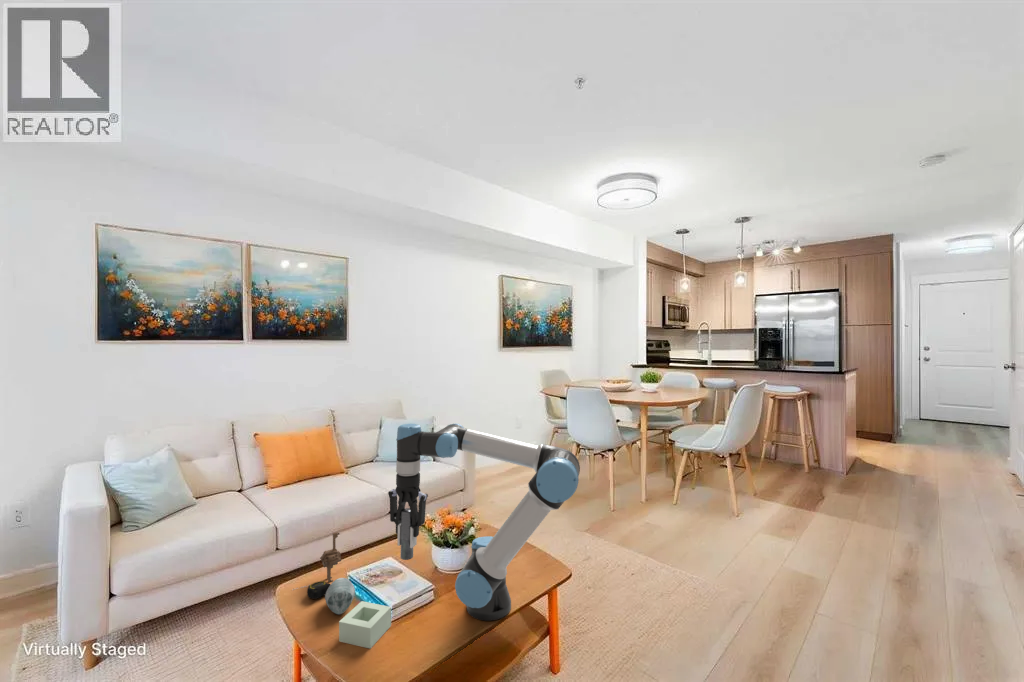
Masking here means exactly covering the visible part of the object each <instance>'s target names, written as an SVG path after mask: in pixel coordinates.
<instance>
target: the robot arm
mask: <svg viewBox="0 0 1024 682" xmlns="http://www.w3.org/2000/svg"><path fill="white" fill-rule="evenodd" d="M395 441H396V467H395V468H396V469H395V472H396V475H395V485H396V487H395V488H392V489H391V490H389V491H388V492H387V494H388V498H389V518H390V519H389V520H390V522H392V523H394V524H395V534H396V535H397V546H400V547H401V511H402V510H403V509H406V503H407V504H408V507H409V508H410V512H411V518H412V525H413V526H412V527H410V548H413V549H414V547H416V546H417V544H418V543H417V542H418V541H417V538H418V536H419V535H420V527H421V526H423V525H424V524H425V522H426V509H427V508H426V507H427V506H426V505H427V500H428V497H429V494H428V493H424V492H422V491H421V489H420V486H421V485H420V484H421V473H420V471H421V456H423V457H433V458H435V457H436V458H442V459H444V458H446V459H447V458H454V457H455V456H456V454H457V452H458V451H462V452H467V453H470V454H474V455H478V456H483V457H486V458H490V459H494V460H498V461H501V462H505V463H510V464H514V465H518V466H521V467H525V468H529V469H533V471H534V472H535V473H534V475H533V477H532V478H531V479H530V480H529V482H528V484H527V486H528V491H527V492H526V494H525V495H524V496H523V498H521V500H520V502H519V503H518V504H517V506H516V507H515V508H514V510H513V511H512V512H511V513H510V515H509V516H508V517H507V519H506V520H505V521H504V523H503V524H502V525H501V526H500V527H499V529H498V530H497V531H496V533H495V534H494V536H491V535H490V536H488V535H487V536H485V535H484V536H479V537H476V538H474V539H473V540H472V542H471V546H470V549H471V555H470V556H469V558H468V560H467V561H466V562H465V564H464V566H463V568H462V569H461V570H460V572H459V573H458V574H457V575H456V580H455V583H454V589H455V593H456V596H457V598H458V599H459V600H460V602H462V604H464V606H466V611H467V613H468V614H469V615H470V616H471V617H472V618H473V619H477V620H480V621H486V622H491V621H496V620H500V619H502V618H504V617H505V616H507V615H508V614H509V613H510V611H511V609H512V598H511V595H510V592H509V589H508V586H507V575H508V571H507V570H508V569H507V567H508V566H509V564H511V562H512V561H513V559H514V558H515V557H516V556H517V554H518V553H519V552H520V550H521V549H522V547H523V546H524V545H526V543H527V541H528V540H529V539H530V537H532V535H533V533H535V531H536V530H537V529H538V528H539V526H540V525H541V524H542V522H543V521H544V520H545V519H546V517H547V516H548V515H549V513H550V512H551V511H556V510H559V509H560V508H561V506H562V505H563V504H564V503H565V501H566V502H567V501H568V500H569V499H571V498H572V496H573V495H574V494H575V492H576V491H577V489H578V485H579V476H580V472H581V471H580V470H581V467H580V466H581V465H580V462H579V459H578V457H577V456H576V454H574V453H573V452H572V451H570V450H568V449H566V448H563V447H558V446H556V445H555V446H554V445H550V444H545V443H541V444H540V445H537V444H536V445H535V444H532V443H527V442H524V441H519V440H516V439H515V440H514V439H511V438H506V437H503V436H499V435H495V434H494V435H493V434H489V433H486V432H482V431H481V432H480V431H478V430H472V429H468V428H465V427H464V426H463V425H462V424H460V423H452V424H447V426H445V427H443V428H442V429H439V430H438V431H436V432H435V431H434V432H433V431H422V426H421V425H420V424H417V423H403V424H401V425H399V426H398V427H397V433H396V440H395ZM418 501H419V502H418Z"/></svg>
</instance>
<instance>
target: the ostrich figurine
mask: <svg viewBox="0 0 1024 682" xmlns="http://www.w3.org/2000/svg"><path fill="white" fill-rule="evenodd" d="M339 535H340V532H339V531H337V532H336V531H335V532H333V533H332V549H327V550H325V551H323V553H322V555H321V557H319V559H320V561H321V563H322V565H323V568H326V578H327V579H326V580H327V584H328V583H329V584H330V583H332V582H334V580H333V579H332V578H333V577H332V575H331V573H332V571H331V570H332V569H333V568H334V566H336V565H339V563H340V562H341V561H342V558H341V551H339V550H338V549H337V547H336V546H337V545H336V539H337V538H338V536H339ZM303 588H308V585H307V586H306V585H304V586H300V589H303ZM297 589H298V587H296V588H293V591H294V590H297Z"/></svg>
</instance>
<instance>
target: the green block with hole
mask: <svg viewBox="0 0 1024 682" xmlns="http://www.w3.org/2000/svg"><path fill="white" fill-rule="evenodd" d="M391 627H392V606H389V605H383V604H379V603H374V602H373V603H372V602H369V601H362V600H361V601H360V602H359V603H358V604H356V605H355V607H354V608H352V609H351V610H350V611H349V612H348V613H347V614H345V616H343V618H341V619H340V620H339V621H338V640H339V641H338V642H341V643H344V644H350V645H353V646H358V647H362V648H366V649H370V650H371V649H372V648H373V647H374V646H375V644H376V643H377V642H378V641H379V640H380V639H381V637H382V636H384V634H385V633H386V632H387V631H388V630H389V629H390V628H391Z"/></svg>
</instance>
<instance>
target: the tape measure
mask: <svg viewBox="0 0 1024 682" xmlns="http://www.w3.org/2000/svg"><path fill="white" fill-rule="evenodd" d="M331 584H332V583H330V582H329V583H328V582H327V581H322V580H321V581H316V582H313V583H311V584H309V585H308V586H307V597H308V598H309V599H313V600H317V599H319V598H321V597H323V596H325V595H326V591H327V589H328V588H329V586H330V585H331Z"/></svg>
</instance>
